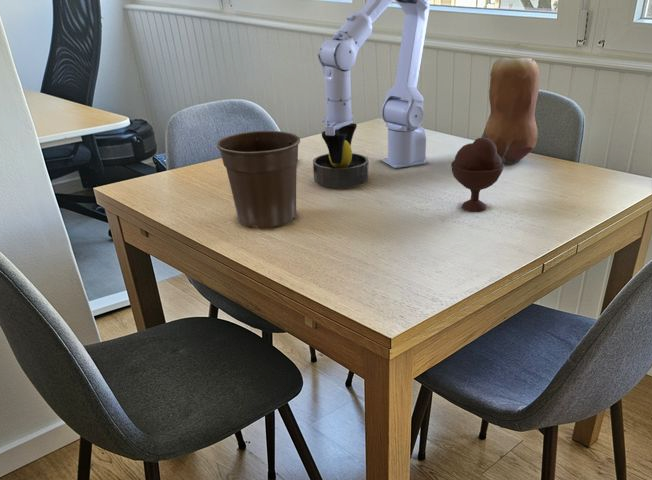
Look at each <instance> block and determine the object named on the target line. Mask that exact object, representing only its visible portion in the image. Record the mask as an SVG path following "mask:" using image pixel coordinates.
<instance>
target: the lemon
mask: <svg viewBox="0 0 652 480" xmlns="http://www.w3.org/2000/svg"><path fill="white" fill-rule="evenodd" d="M352 153H353V151H352V145H351V146H350V144H349V142H348V141H346V140H345V141H344V146H343V155H342V161H341V163H340V164H337V163H332V161H331V157H330V154H329V153H328V154H329V160H330V162H331V164H332V165H333V166H334V167H335V168H346V167H348V166H349V164H350V163H351V160H352Z"/></svg>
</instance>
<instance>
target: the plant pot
mask: <svg viewBox="0 0 652 480" xmlns="http://www.w3.org/2000/svg"><path fill="white" fill-rule="evenodd" d="M300 143H301V137H300V136H298V134H297V135H296V134H295V133H292V132H287V131H281V130H280V131H278V130H253V131H244V132H239V133H235V134H231V135H228V136H225V137H222V138H220V139H219V140H218V141H217V142H216V148H217V149H218V150H219V152H220V155H221V156H220V157H221V159H222V163H223V166H224V167H225V169H226V173H227V178H228V181H229V187H230V189H231V190H230V191H231V195H232V198H233V203H234V207H235V211H236V216H237V221H238V222H239V224H241V226H244V227H247V228H253V227H255V228H258V229H275V228H276V229H277V228H280V227H283V226H286V225H288V224H290V223H292V222H293V220H295V219H296V218H297V162H298V159H299V145H300Z"/></svg>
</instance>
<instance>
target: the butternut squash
mask: <svg viewBox="0 0 652 480" xmlns="http://www.w3.org/2000/svg"><path fill="white" fill-rule="evenodd" d="M489 76H490V77H489V78H490V79H489V91H488V93H489V94H488V99H489V105H490V106H489V107H490V113H489V114H490V115H489V117H488V119H487V121H486V124H485V126H484V130H483V138H488V139H491V140H492V141H493V142H494V144H495V145H496V148H497V154H498V155H499V156H500V157H501V160H502V162H503V163H506V164H507V163H508V164H515V163H518V162H520V161H522V160H523V159H524V158H525V157H526V156H527V155H529V154H530V153H531V152H532V151H534V149H535V147H536V145H537V142H538V126H537V122H536V117H535V116H536V115H535V113H536V107H537V101H538V96H539V91H540V90H539V89H540V82H539V81H540V73H539V66H538V64H537V62H536V61H535V60H534V59H532V58H530V57H515V58H509V57H502V58H498V59H496V60H495V61H494V62H493V63H492V66H491V70H490V73H489Z"/></svg>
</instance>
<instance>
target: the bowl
mask: <svg viewBox="0 0 652 480" xmlns="http://www.w3.org/2000/svg"><path fill="white" fill-rule="evenodd" d="M312 171H313V172H312V173H313V174H312V175H313V182H314V183H315V184H317V185H318V186H321V187H325V188H331V189H350V188H355V187H358V186H362V185H364V184H366V183H367V182H369V179H370V161H369V158H368V157H367V156H365V155H364V154H359V153H355V152H354V153H353V152H352V160H351V163H350V164H349V166H348V167H346V168H335V167H334V166H333V165H332V164H331V162H330V160H329V153H324V154H321V155H318V156H316V157H314V159H313V160H312Z"/></svg>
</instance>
